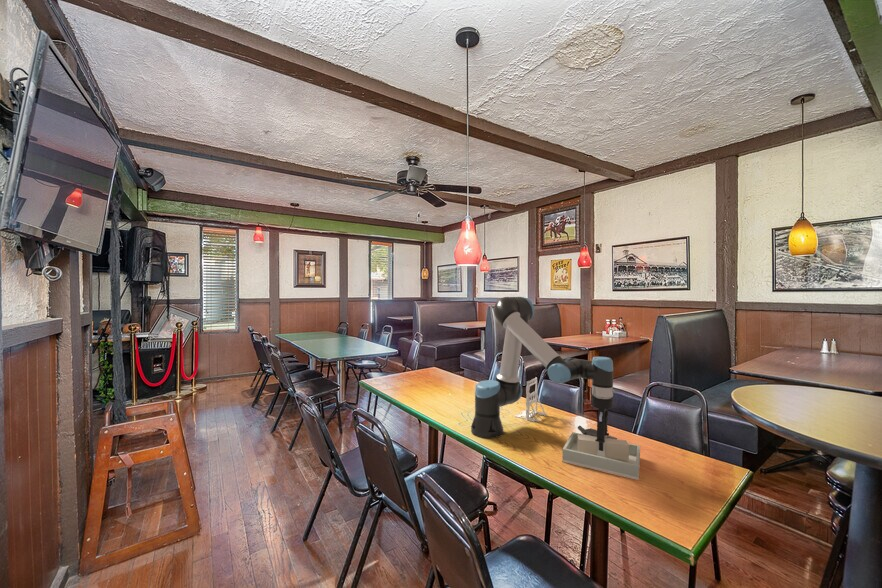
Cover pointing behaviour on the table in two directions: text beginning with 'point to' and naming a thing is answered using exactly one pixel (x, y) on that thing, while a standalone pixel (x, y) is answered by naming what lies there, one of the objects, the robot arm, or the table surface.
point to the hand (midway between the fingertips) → (602, 454)
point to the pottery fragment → (591, 432)
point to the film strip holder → (526, 412)
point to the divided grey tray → (602, 459)
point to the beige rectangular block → (612, 447)
